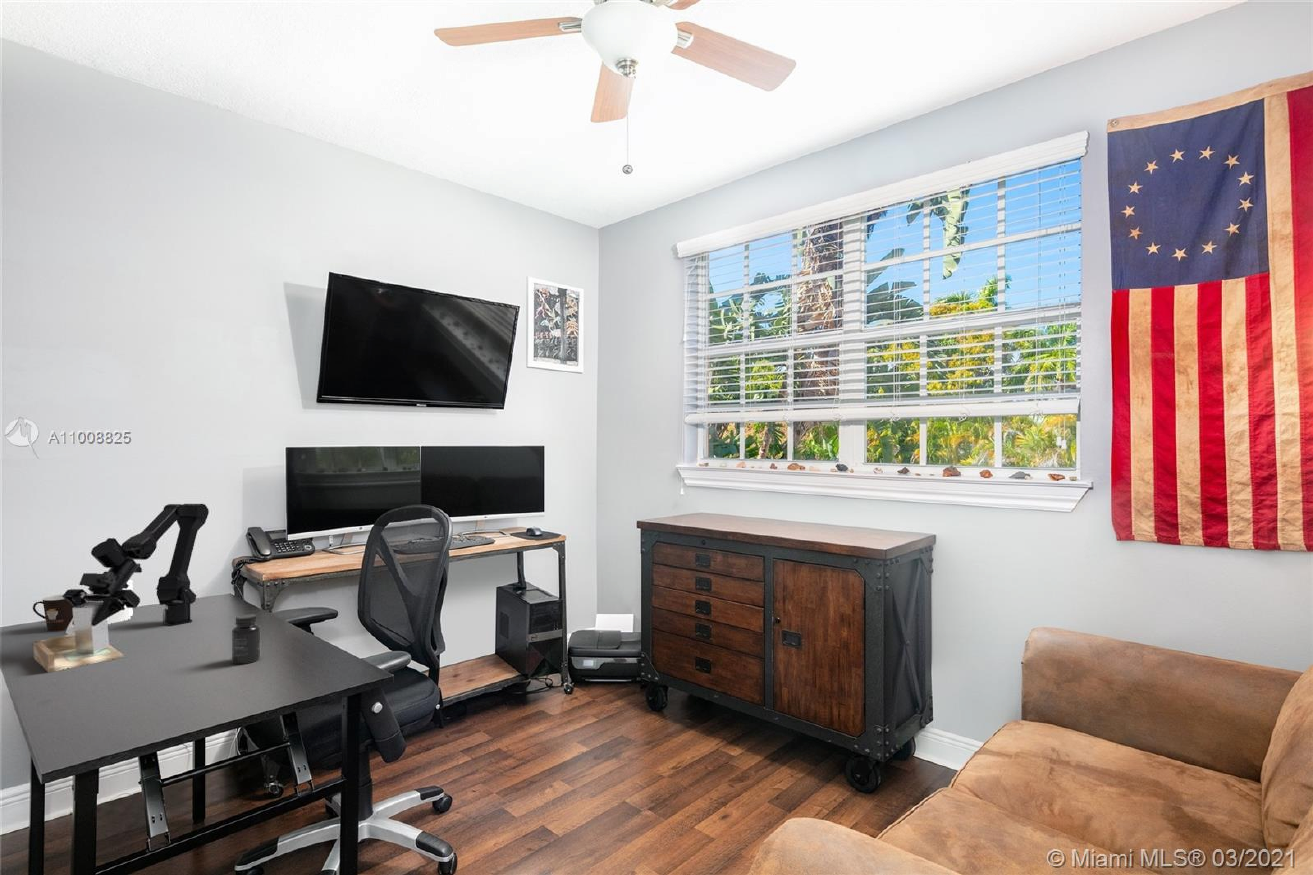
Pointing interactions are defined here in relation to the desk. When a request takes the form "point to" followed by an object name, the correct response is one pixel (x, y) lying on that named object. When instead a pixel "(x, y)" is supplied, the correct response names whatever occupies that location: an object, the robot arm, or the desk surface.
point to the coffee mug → (56, 612)
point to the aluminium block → (89, 629)
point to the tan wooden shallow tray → (68, 654)
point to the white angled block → (121, 614)
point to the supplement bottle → (246, 640)
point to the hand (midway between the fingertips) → (83, 625)
